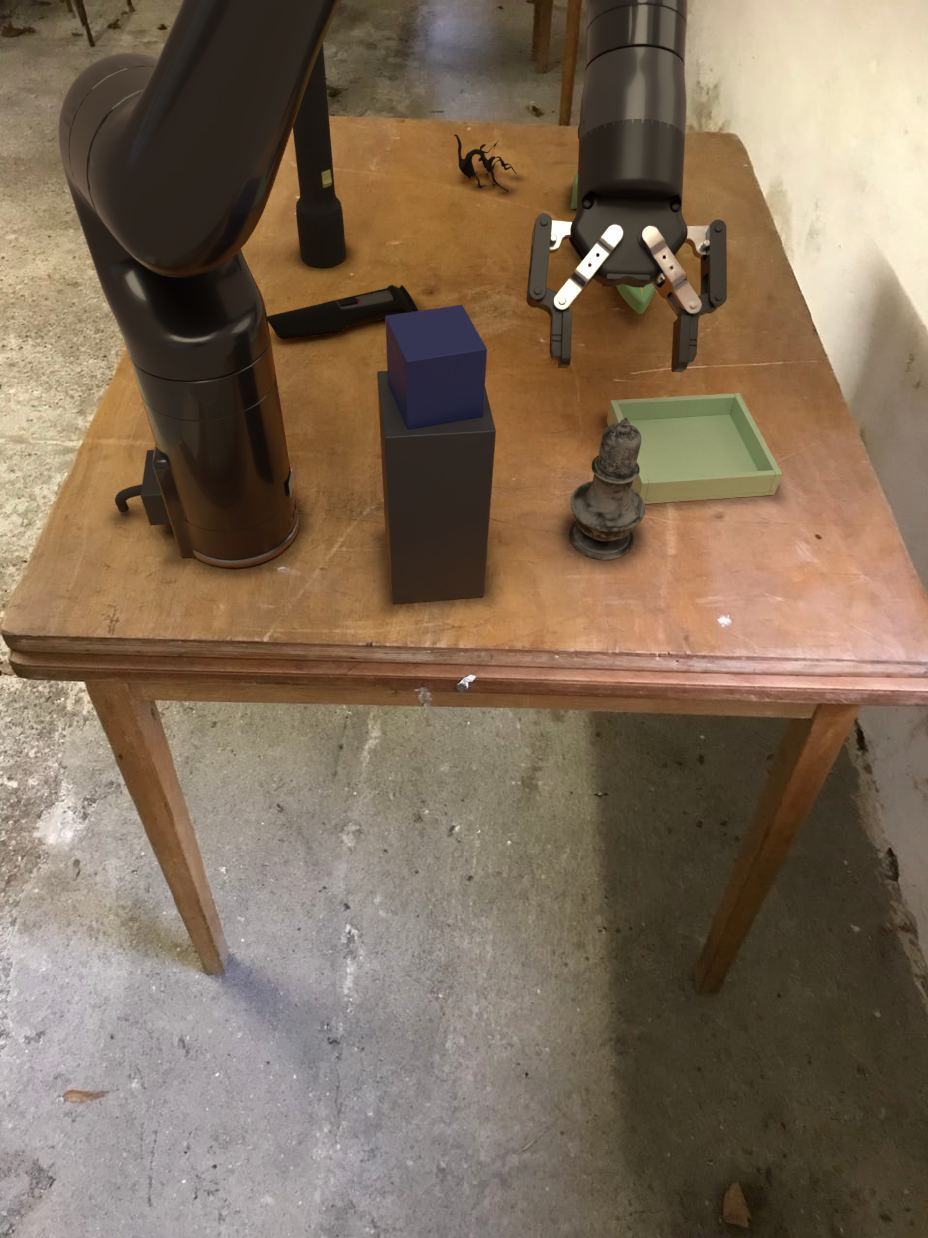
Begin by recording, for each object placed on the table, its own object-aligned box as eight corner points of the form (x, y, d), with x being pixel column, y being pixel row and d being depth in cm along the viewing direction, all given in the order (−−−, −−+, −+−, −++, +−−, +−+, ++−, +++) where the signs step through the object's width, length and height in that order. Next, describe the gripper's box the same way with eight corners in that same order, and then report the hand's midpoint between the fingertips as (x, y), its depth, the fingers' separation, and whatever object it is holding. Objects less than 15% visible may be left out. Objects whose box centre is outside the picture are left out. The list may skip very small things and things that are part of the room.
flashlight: (291, 255, 100) (320, 273, 98) (260, 3, 81) (295, 17, 79) (326, 240, 102) (355, 256, 100) (303, -9, 83) (338, 5, 81)
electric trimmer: (265, 334, 90) (260, 305, 88) (407, 301, 95) (406, 273, 92) (276, 354, 88) (271, 326, 86) (421, 319, 92) (421, 291, 90)
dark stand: (392, 604, 68) (385, 437, 56) (385, 538, 72) (377, 370, 60) (483, 597, 69) (496, 430, 56) (471, 532, 73) (480, 365, 61)
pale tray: (636, 504, 76) (642, 483, 74) (606, 421, 83) (610, 399, 81) (774, 495, 77) (782, 473, 75) (732, 413, 84) (739, 392, 82)
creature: (501, 172, 117) (444, 165, 114) (512, 129, 113) (454, 120, 110) (521, 200, 112) (463, 193, 109) (534, 156, 108) (474, 147, 105)
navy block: (407, 430, 56) (406, 361, 52) (387, 383, 59) (385, 315, 55) (483, 416, 57) (487, 348, 53) (459, 371, 60) (462, 304, 56)
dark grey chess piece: (640, 564, 71) (672, 446, 62) (567, 561, 71) (587, 442, 62) (633, 512, 75) (662, 394, 66) (563, 510, 75) (582, 391, 66)
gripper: (537, 110, 61) (530, 356, 62) (747, 117, 61) (734, 362, 62) (528, 156, 68) (521, 375, 70) (714, 163, 68) (703, 380, 70)
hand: (622, 368), depth 66 cm, fingers open, 8 cm apart
